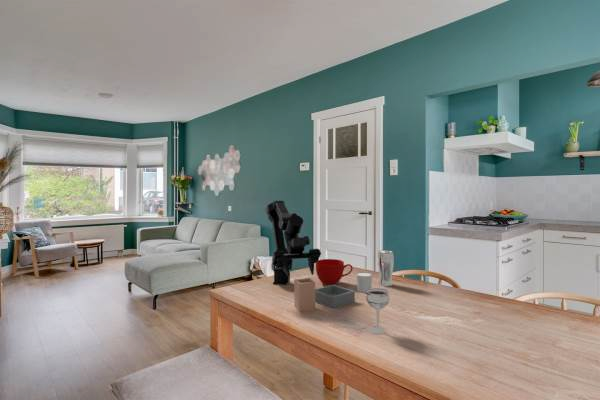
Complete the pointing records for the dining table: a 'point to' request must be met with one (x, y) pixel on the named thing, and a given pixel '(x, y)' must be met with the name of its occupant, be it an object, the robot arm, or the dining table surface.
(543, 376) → the dining table surface
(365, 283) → the white cylindrical piece
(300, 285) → the terracotta bin
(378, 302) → the wineglass
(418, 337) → the dining table surface
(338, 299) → the grey square tray
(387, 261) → the beer glass
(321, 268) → the ceramic cup
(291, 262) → the robot arm
